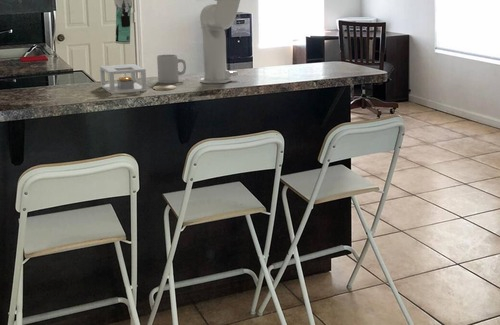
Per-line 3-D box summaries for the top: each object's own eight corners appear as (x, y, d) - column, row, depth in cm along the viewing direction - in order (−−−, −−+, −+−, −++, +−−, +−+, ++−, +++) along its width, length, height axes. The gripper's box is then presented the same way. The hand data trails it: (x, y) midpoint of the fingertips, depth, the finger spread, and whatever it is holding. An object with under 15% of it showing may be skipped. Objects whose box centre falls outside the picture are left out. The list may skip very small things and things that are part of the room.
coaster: (171, 85, 283) (171, 84, 283) (178, 89, 275) (178, 87, 275) (150, 87, 279) (150, 86, 279) (156, 91, 271) (156, 89, 271)
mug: (160, 84, 288) (158, 57, 285) (156, 80, 296) (155, 55, 293) (188, 82, 291) (187, 55, 288) (184, 79, 299) (183, 53, 296)
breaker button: (130, 86, 277) (129, 76, 276) (133, 88, 272) (133, 78, 271) (118, 87, 275) (117, 77, 274) (121, 89, 270) (120, 79, 269)
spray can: (130, 43, 271) (131, -10, 267) (129, 44, 266) (130, -10, 261) (116, 42, 271) (117, -11, 266) (114, 43, 266) (115, -11, 261)
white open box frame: (135, 84, 288) (133, 63, 286) (146, 90, 272) (145, 69, 270) (101, 87, 283) (99, 66, 280) (111, 94, 267) (109, 71, 264)
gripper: (135, -23, 256) (139, 27, 261) (124, -24, 271) (128, 24, 276) (115, -23, 253) (119, 28, 258) (105, -23, 268) (109, 25, 273)
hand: (124, 25), depth 267 cm, fingers closed on spray can, 5 cm apart
